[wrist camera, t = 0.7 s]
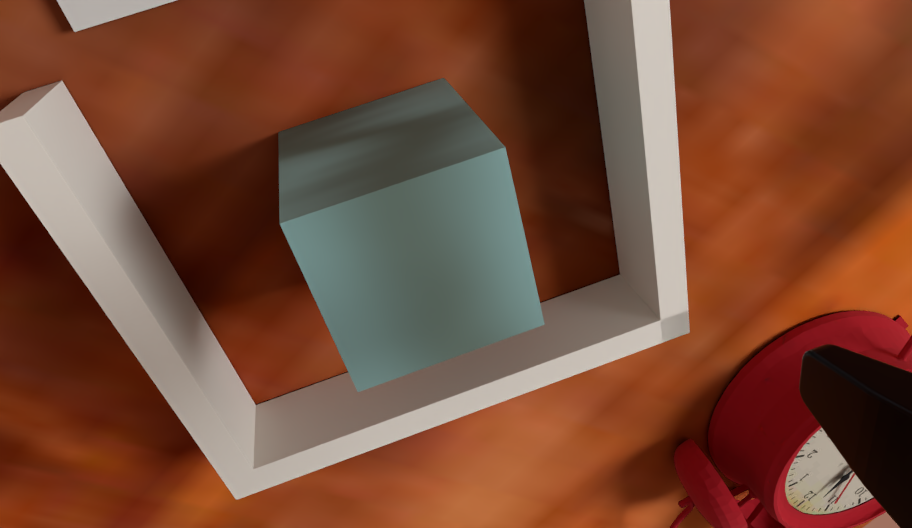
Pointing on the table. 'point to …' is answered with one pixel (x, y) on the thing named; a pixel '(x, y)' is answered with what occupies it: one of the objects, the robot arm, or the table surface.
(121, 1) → the grey mat
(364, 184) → the teal block
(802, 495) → the alarm clock
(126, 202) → the white u-shaped frame
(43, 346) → the table surface
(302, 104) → the table surface
